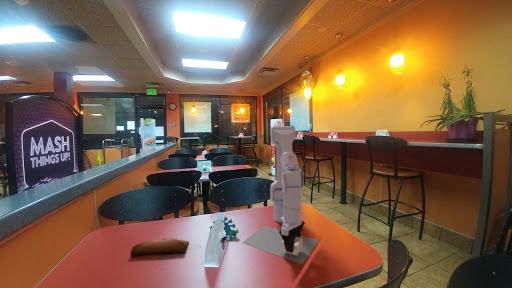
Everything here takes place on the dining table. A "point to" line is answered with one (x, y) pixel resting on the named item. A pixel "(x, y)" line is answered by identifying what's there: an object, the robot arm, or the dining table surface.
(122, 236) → the dining table surface
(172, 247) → the sunglasses case
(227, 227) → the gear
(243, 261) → the dining table surface
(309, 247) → the board
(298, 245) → the ring
